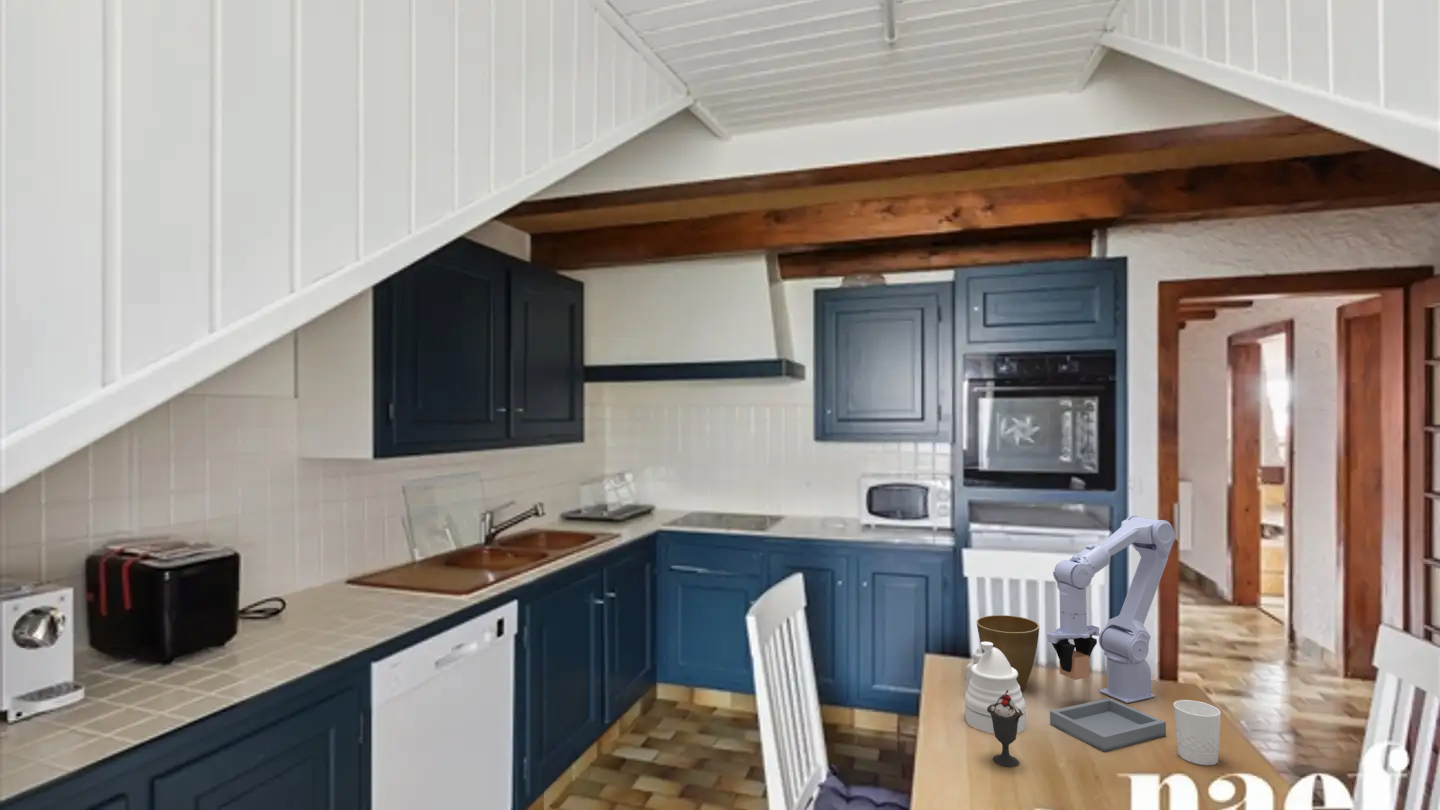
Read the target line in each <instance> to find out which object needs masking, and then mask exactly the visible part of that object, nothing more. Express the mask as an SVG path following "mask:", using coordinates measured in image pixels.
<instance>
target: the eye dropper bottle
mask: <svg viewBox="0 0 1440 810" xmlns="http://www.w3.org/2000/svg"><path fill="white" fill-rule="evenodd" d="M982 655H983V652H982V651H981V649H980V648H979V647H978V648H976V652H974V653H973V655H972V657H973V661H972V662H969V663H968V664H967V665H966V692H967V691H968V686H969V685H970V683H969V681H970V679H971V678H972V676H973V673H972V672H971V667H972V666H973V665H974V664H977V663H978V662H979V660H980V658H981V656H982Z"/></svg>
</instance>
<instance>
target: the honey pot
mask: <svg viewBox="0 0 1440 810" xmlns="http://www.w3.org/2000/svg"><path fill="white" fill-rule="evenodd" d="M981 646H982V647H981ZM980 647H981V650H982V649H983V650H984V651H985V652H984V653H983V652H982V654H983V655H982V656H981V658H980V660H979V662H978V663H977V664H974V665H973V666H972V667H971V672H972V673H973V676H972V678H971V679H970V681H969V683H970V685H969V686H968V691H967V690H966V692H965V694H964V695H965V696H964V702H965V703H964V716H965V718H966V719H965V721H967V722H968V723H969V724H970V725H969V724H968V723H967V722H966V723H967V724H968V725H969V726H971V725H972V726H973V727H972V726H971V727H972V728H974V727H976V728H977V729H976V728H975V729H976V730H978V729H979V730H978V731H981V730H982V731H981V732H984V731H985V732H984V733H987V732H990V733H989V734H992V733H994V729H993V722H992V717H991V714H990V713H989V712H988V711H987V708H988V706H989V705H992V704H996V702H997V700H998V698H1000V697H1001V696H1002V695H1006V694H1007V695H1009V696H1010V698H1011V699H1012V700H1013V701H1014V703H1015V706H1017V708H1019V709H1020V710H1021V711H1022V713H1023V715H1022V716H1020V718H1019V721H1018V727H1017V734H1019V733H1018V732H1020V733H1022V732H1024V731H1025V730H1026V728H1027V712H1026V709H1027V708H1026V707H1027V706H1026V705H1027V703H1026V700H1025V698H1024V697H1023V692H1022V690H1020V686H1019V684H1018V682H1017V680H1016V678H1017V677H1018V672H1017V670H1015V669H1014V668H1012V667H1011V666H1010V664H1009V662H1008V660H1007V658H1006V657H1005V655H1004V654H1003V653H1002V652H1001V651H1000V650H999V649H997V648H995V647H993V643H991V642H981V643H980ZM1007 690H1008V693H1006V691H1007ZM1005 693H1006V694H1005ZM1023 730H1024V731H1023Z"/></svg>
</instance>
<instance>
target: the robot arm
mask: <svg viewBox="0 0 1440 810" xmlns="http://www.w3.org/2000/svg"><path fill="white" fill-rule="evenodd" d="M1176 536H1177V535H1176V534H1175V530H1174V528H1173V526H1172V524H1171V523H1170V522H1169V521H1167V520H1165V519H1154V518H1147V517H1142V516H1137V515H1129V516H1128V517H1127V518H1126V519H1124V520H1122V521H1121V523H1120V527H1119V528H1118V529H1117V530H1116V531H1115V532H1113V533H1112V534H1110V536H1108V537H1107V538H1106V539H1104V540H1103V542H1101V543H1100V544H1097V543H1092V544H1090V543H1089V544H1087V545H1086V546H1085V548H1084V549H1083V550H1081V551H1080V552H1079V553H1077V554H1074V555H1073V556H1072V557H1071V558H1070V559H1063V560H1060V561H1059V562H1058V563H1056V566H1055V567H1054V570H1053V571H1052V576H1053V578H1054V580H1055V581H1056V586H1057V589H1058V591H1059V592H1058V593H1059V597H1058V598H1059V628H1057V629H1055V630H1053V631H1050V632H1047V633H1046V640H1047V642H1048V643H1051V645H1052V647H1053V648H1054V651H1055V652H1056V654H1057V657H1058V661H1060V664H1061V668H1062V670H1064V671H1067V672H1071V668H1072V655H1073V651H1074V650H1075V651H1077V652H1080V653H1083V654H1085V655H1088V656H1089V659H1090V658H1091V655H1092V652H1093V650H1094V649H1095V647H1096V645H1098V643H1099V646H1100V648H1101V649H1102V650H1103V651H1104V652H1103V653H1104V654H1103V655H1104V656H1106V671H1107V672H1106V675H1107V676H1106V677H1107V678H1106V679H1107V680H1106V681H1107V687H1105V688H1101V689H1099V690H1098V692H1100V693H1102V694H1105V695H1106V696H1108V697H1112V698H1113V699H1116V700H1118V701H1120V702H1124V704H1125V703H1126V704H1128V703H1129V704H1130V703H1134V702H1139V701H1144V700H1147V699H1152V698H1155V694H1154V693H1152V673H1151V672H1152V670H1151V667H1150V664H1149V663H1148V661H1147V660H1146V659H1147V657H1148V654H1149V650H1150V649H1149V645H1150V641H1151V637H1152V636H1151V634H1150V633H1149V631H1148V630H1147V629H1146V627H1145V626H1144V624H1145V622H1146V620H1147V616H1148V614H1149V611H1150V609H1151V606H1152V604H1153V600H1154V598H1155V596H1156V592H1157V590H1158V587H1159V584H1160V581H1161V578H1162V576H1163V574H1164V571H1165V568H1166V566H1167V563H1168V559H1169V555H1170V553H1171V551H1172V547H1173V545H1174V543H1175V539H1176ZM1129 546H1132V547H1133V548H1134V550H1135V551H1137V552H1138V554H1139V557H1140V560H1139V562H1138V565H1137V568H1136V570H1135V572H1134V576H1133V577H1132V580H1131V583H1130V586H1129V588H1128V592H1127V593H1126V596H1125V599H1124V602H1123V604H1122V607H1121V609H1120V612H1119V615H1116V616H1114V617H1112V618H1109V619H1108V620H1107V623H1106V624H1105V627H1103V629H1102V630H1100V627H1099V626H1096V625H1087V624H1088V623H1087V619H1088V618H1087V587H1089V586H1090V584H1091V582H1092V580H1093V578H1094V577H1095V576H1096V575H1095V574H1096V573H1098V572H1100V571H1101V570H1102V569H1104V568H1105V567H1107V566H1108V565H1109V564H1110V563H1111V557H1113V556H1114V555H1115V554H1117V553H1119V552H1121V551H1122V550H1124V549H1126V548H1127V547H1129ZM1093 636H1096V637H1098V640H1097V638H1095V637H1093ZM1069 640H1073V643H1074V644H1073V643H1070V641H1069ZM1060 664H1059V665H1060Z"/></svg>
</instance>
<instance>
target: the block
mask: <svg viewBox="0 0 1440 810" xmlns="http://www.w3.org/2000/svg"><path fill="white" fill-rule="evenodd" d="M1058 661H1059V660H1058ZM1058 664H1059V674H1060V675H1061V676H1065V677H1067V678H1069V679H1072V680H1074V681H1076V680H1082V679H1086V678H1087V679H1088V678H1090V658H1089V656H1088V655H1085V654H1083V653H1080V652H1077V651H1076V649H1074V651H1073V655H1072V668H1071V672H1067V671H1064V670H1062V668H1061V664H1060V661H1059V662H1058Z"/></svg>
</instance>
